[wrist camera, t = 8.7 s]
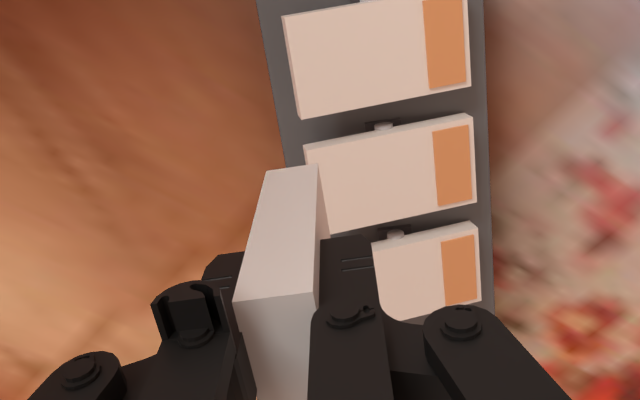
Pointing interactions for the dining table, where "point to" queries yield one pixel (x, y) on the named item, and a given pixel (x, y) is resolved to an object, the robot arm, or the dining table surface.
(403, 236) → the rocker
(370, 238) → the power strip
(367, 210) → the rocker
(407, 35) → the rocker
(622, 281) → the dining table surface
